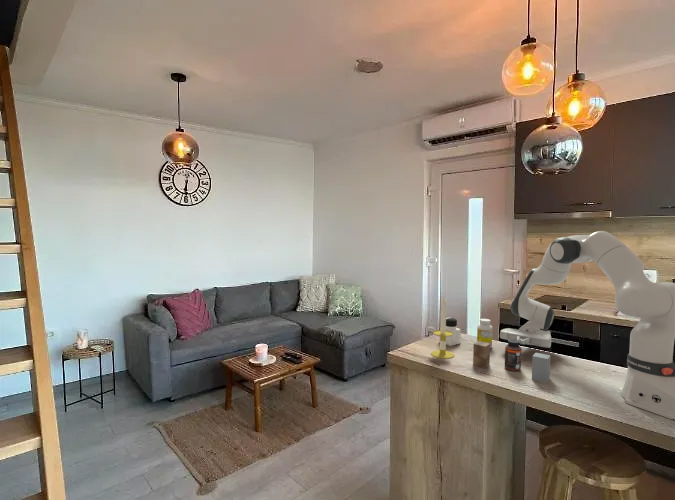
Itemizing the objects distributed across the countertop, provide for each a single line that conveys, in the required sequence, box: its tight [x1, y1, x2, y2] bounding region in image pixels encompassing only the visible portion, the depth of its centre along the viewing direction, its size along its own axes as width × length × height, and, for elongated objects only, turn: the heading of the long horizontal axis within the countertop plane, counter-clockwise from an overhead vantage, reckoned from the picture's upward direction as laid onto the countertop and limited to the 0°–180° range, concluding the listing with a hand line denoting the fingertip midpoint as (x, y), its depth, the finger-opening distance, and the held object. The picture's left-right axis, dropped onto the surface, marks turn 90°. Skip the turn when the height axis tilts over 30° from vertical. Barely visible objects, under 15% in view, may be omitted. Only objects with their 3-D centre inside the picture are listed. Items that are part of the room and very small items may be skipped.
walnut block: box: [472, 340, 491, 369], centre depth 158 cm, size 5×5×9 cm
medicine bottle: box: [439, 317, 462, 347], centre depth 187 cm, size 7×7×12 cm
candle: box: [430, 295, 455, 360], centre depth 170 cm, size 10×10×27 cm
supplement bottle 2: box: [504, 340, 522, 372], centre depth 154 cm, size 6×6×11 cm
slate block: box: [531, 352, 552, 384], centre depth 144 cm, size 5×5×9 cm
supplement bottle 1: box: [476, 318, 493, 349], centre depth 181 cm, size 7×7×13 cm
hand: (520, 342), depth 164 cm, fingers closed
